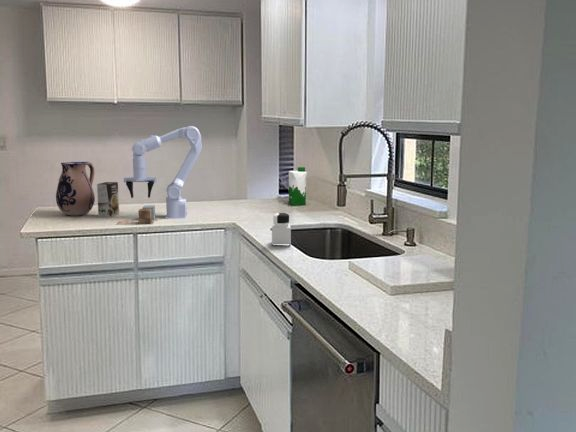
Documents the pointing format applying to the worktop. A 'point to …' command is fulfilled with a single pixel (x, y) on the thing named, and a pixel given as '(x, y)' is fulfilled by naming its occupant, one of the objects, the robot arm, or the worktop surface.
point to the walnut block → (145, 216)
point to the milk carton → (297, 187)
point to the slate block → (151, 210)
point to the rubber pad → (144, 224)
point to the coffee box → (108, 199)
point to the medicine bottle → (281, 229)
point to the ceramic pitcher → (75, 189)
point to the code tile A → (126, 222)
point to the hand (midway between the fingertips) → (140, 197)
